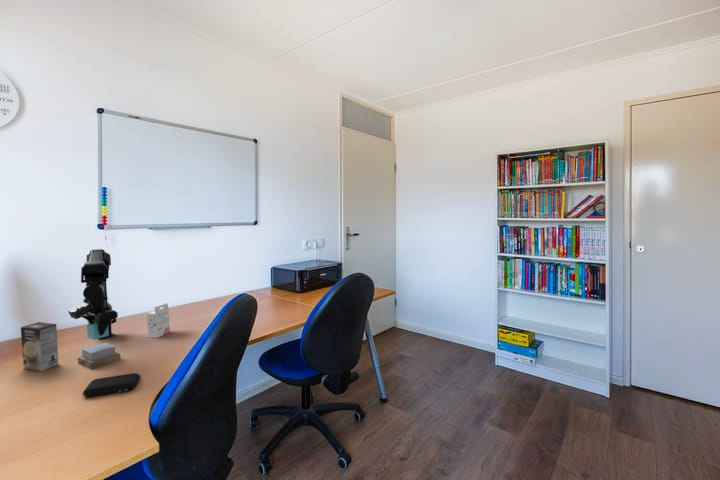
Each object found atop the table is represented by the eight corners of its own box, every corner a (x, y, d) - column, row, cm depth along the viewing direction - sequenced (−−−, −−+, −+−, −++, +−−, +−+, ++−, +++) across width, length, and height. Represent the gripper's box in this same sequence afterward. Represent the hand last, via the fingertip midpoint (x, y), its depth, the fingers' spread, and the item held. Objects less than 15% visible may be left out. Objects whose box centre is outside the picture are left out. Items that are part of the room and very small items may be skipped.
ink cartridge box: (161, 331, 169) (160, 302, 168) (170, 332, 168) (169, 302, 167) (147, 337, 160) (146, 306, 159) (156, 338, 159) (155, 307, 158)
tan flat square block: (78, 365, 132) (77, 357, 132) (107, 355, 141) (106, 348, 141) (91, 370, 127) (90, 362, 127) (120, 360, 136) (120, 353, 136)
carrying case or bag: (79, 402, 105) (135, 393, 111) (78, 393, 105) (134, 384, 111) (91, 386, 115) (141, 378, 121) (90, 378, 115) (141, 370, 121)
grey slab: (82, 356, 133) (82, 348, 133) (106, 349, 140) (105, 342, 140) (91, 361, 129) (90, 353, 129) (115, 353, 136) (115, 346, 135)
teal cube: (87, 337, 133) (86, 324, 132) (102, 333, 137) (101, 321, 137) (94, 339, 130) (93, 326, 130) (108, 335, 135) (108, 323, 134)
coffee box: (22, 368, 127) (19, 327, 126) (41, 361, 134) (38, 321, 132) (41, 371, 125) (38, 328, 124) (59, 363, 132) (57, 323, 131)
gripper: (58, 296, 130) (61, 336, 131) (82, 302, 121) (85, 345, 122) (93, 290, 139) (95, 327, 141) (117, 296, 131) (119, 335, 132)
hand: (98, 334), depth 134 cm, fingers closed on teal cube, 5 cm apart
